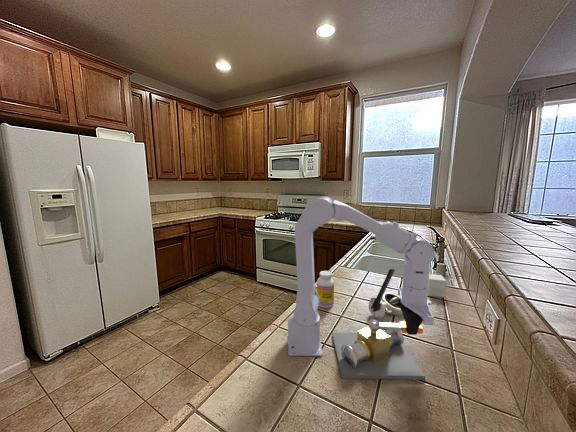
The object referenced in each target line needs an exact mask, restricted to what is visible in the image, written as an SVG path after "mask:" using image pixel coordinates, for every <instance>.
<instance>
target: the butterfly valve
mask: <svg viewBox="0 0 576 432" xmlns="http://www.w3.org/2000/svg"><path fill="white" fill-rule="evenodd" d="M395 271H396V270H395V269H394V268H390V269H389V270H388V272H387V274H386V277H385V278H384V281H383V282H382V285H381V287H380V290H379V292H378V293H377V295H376V297H371V298H370V300H369V302H368V311H369V312H370V315H372V316H373V317H374V318H375V320H377V321H381V320H382V319H383V318H384V316H385V315H386V314H388V315H394V316H399V317H400V316H403V313H402V311H401V309H400V305H403V304H402V303H401V300H400V296H399V295H398V293H397V294H396V293H393V292H388V291H387V292H386V290H387V288H388V286H389V284H390V282H391V279H392V278H393V275H394V273H395Z"/></svg>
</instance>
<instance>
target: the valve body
mask: <svg viewBox="0 0 576 432" xmlns="http://www.w3.org/2000/svg"><path fill="white" fill-rule="evenodd" d="M356 333H357V341H355V343H354V345H351V346H350V345H348V344H345V345H343V346H342V347H341V354H342V358H343V359H344V360H345V361H346V362H347V363H348V364H349V365H350V366H351V367H352V368H353V369H354V368H356V367H357V366H358V362H360V361H362V360H364V361H367V360H369V359H370V360H371V361H372V362H373V363H374V362H376V361H378V360H380V359H382V358H384V357H386V356H388V355H389V354H390V349H391V348H392V345H394V344H397V345H398V346H400V345H402V344H403V343H405V339H404V334H403V333H402V331H399V330H382V329H379V330H378V331H372V330H370V329H369V327H368V326H366V327H363V328H361V329H359V330H358V329H357V331H356Z"/></svg>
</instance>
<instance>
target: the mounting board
mask: <svg viewBox="0 0 576 432" xmlns="http://www.w3.org/2000/svg"><path fill="white" fill-rule="evenodd" d="M332 339H333V341H332V342H333V343H334V344H333V345H334V349H335V355H336V358H337V362H338V367H339V371H340V377H341V379H358V380H359V379H362V380H363V379H364V380H365V379H367V380H371V379H372V380H374V379H375V380H419V381H420V380H423V381H424V380H426V375H425V374H424V371H423V370H422V369H421V367H420V366H419V364H418V363H417V361H416V359H415V358H414V357H413V355H412V353H411V352H410V350H409V349H408V347H407V346H406V344H405V342H403V344H402V345H400V346H398V345H397V344H394V345H392V348H391V349H390V354H389V355H388V356H386V357H384V358H382V359H380V360H378V361H376V362H374V363H373V362H372V361H371V360H370V359H369V360H367V361H364V360H362V361H360V362H358V366H357V367H356V368H354V369H353V368H352V367H351V366H350V365H349V364H348V363H347V362H346V361H345V360H344V359H343V358H342V354H341V347H342V346H343V345H345V344H348V345H350V346H351V345H354V343H355V341H357V332H332Z"/></svg>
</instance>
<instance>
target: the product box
mask: <svg viewBox="0 0 576 432" xmlns="http://www.w3.org/2000/svg"><path fill="white" fill-rule="evenodd" d="M446 286H447V280H446V278H444V276H443V275H441V274H431V273H429V285H428V296H429V297H430V296H431V297H438V298H446V288H447V287H446Z"/></svg>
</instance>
